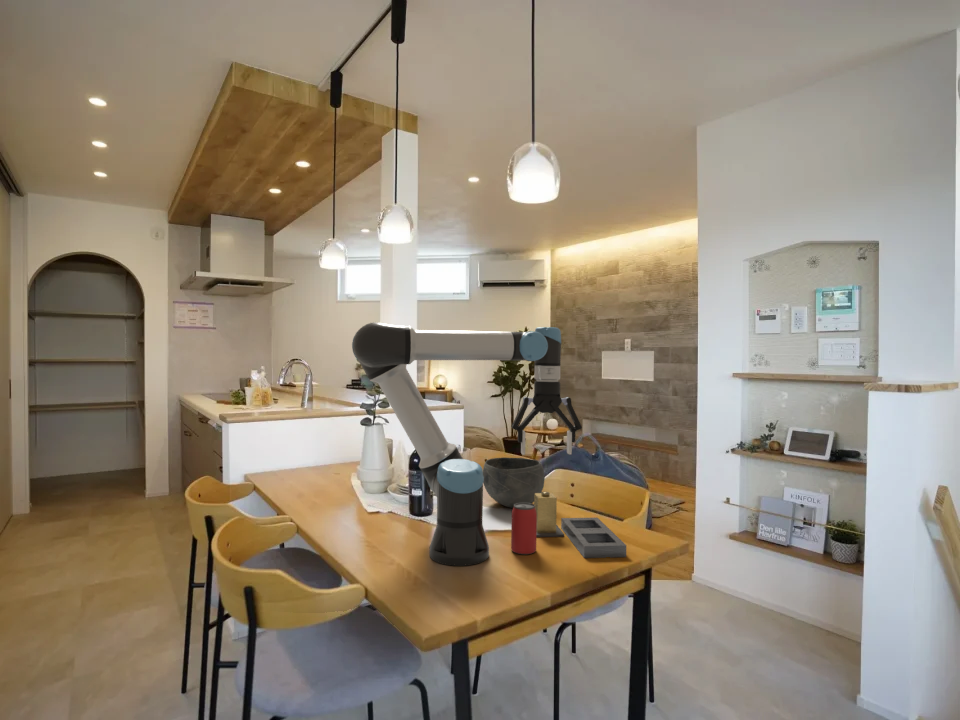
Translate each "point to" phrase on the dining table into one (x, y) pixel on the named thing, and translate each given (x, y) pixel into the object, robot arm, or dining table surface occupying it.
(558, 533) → the mat
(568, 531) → the tray
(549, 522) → the tall wooden peg block
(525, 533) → the beer can
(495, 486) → the bowl
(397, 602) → the dining table surface
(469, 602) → the dining table surface
